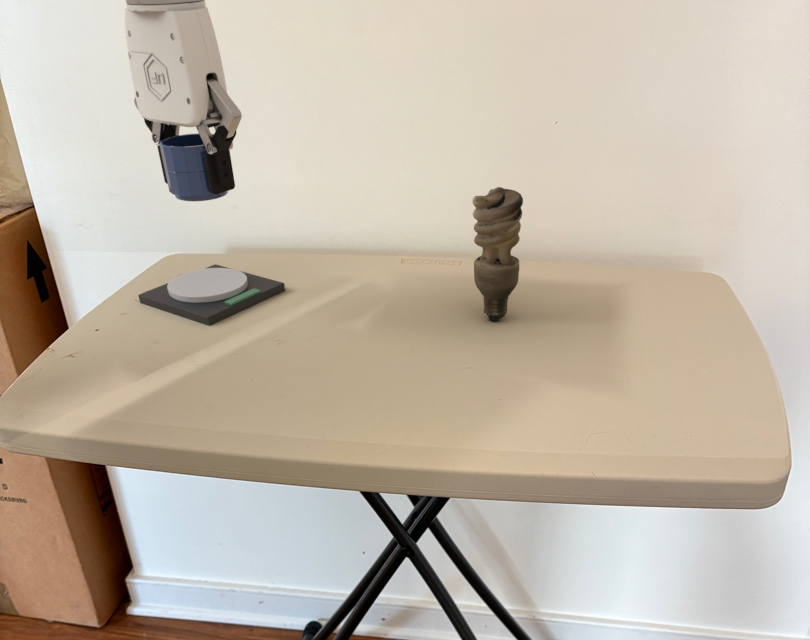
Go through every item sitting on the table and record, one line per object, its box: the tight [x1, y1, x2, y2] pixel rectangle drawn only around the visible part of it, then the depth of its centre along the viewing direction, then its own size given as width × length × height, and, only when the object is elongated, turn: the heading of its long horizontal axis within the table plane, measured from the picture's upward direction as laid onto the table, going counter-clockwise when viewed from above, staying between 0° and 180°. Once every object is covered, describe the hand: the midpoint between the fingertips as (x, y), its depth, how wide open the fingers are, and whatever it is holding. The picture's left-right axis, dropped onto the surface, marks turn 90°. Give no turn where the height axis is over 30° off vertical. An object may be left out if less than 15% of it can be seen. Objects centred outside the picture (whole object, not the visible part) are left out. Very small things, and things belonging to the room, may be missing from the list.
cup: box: [159, 132, 229, 202], centre depth 84 cm, size 7×7×6 cm
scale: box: [137, 264, 286, 327], centre depth 97 cm, size 13×13×3 cm
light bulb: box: [472, 186, 524, 322], centre depth 87 cm, size 6×6×15 cm
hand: (199, 185), depth 85 cm, fingers closed on cup, 6 cm apart
